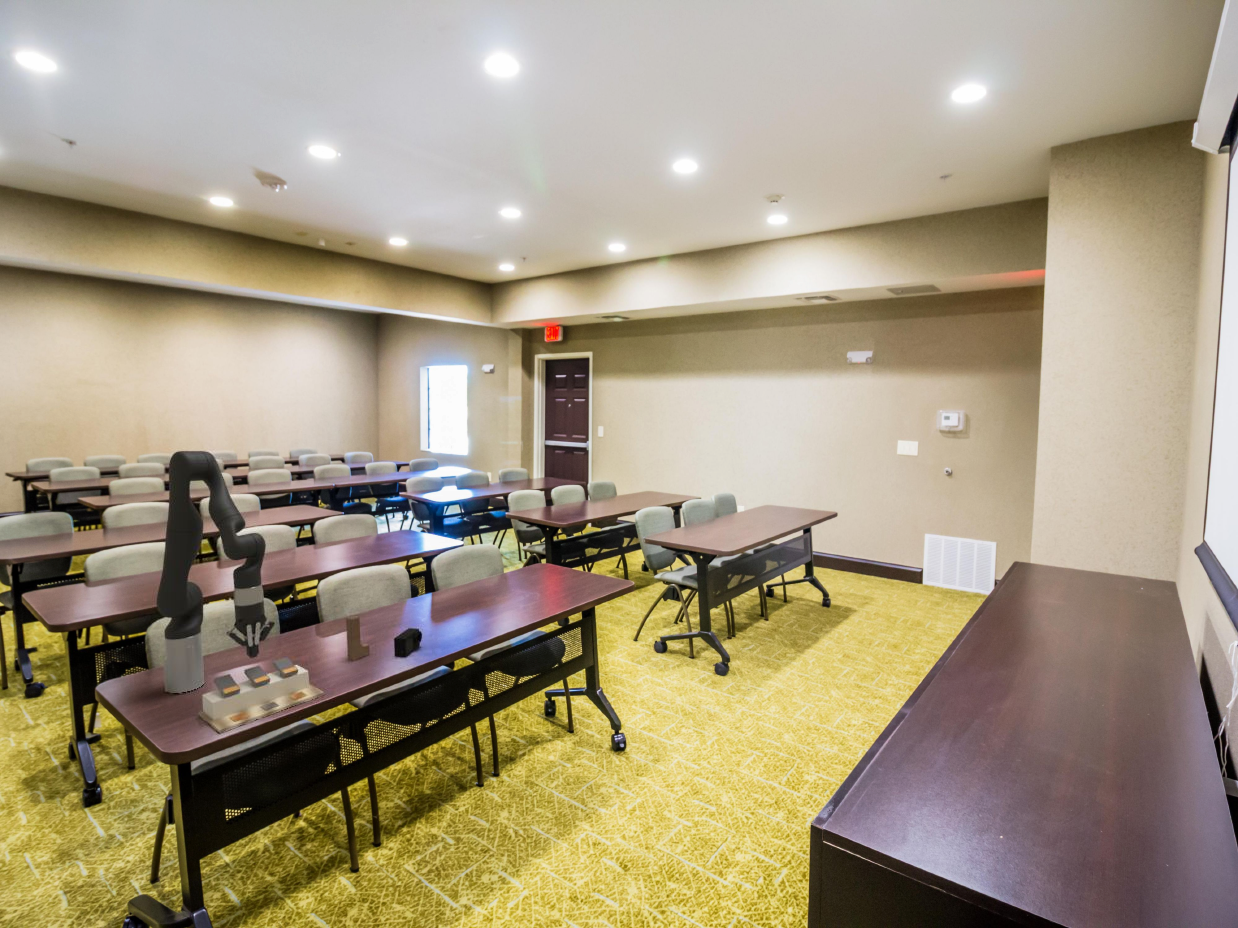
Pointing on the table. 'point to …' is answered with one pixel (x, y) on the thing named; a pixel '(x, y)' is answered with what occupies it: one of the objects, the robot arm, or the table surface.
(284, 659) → the switch right
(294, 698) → the chart board
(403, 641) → the digital camera
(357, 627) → the wooden block
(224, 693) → the switch left
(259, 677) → the switch middle
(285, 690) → the switch box
